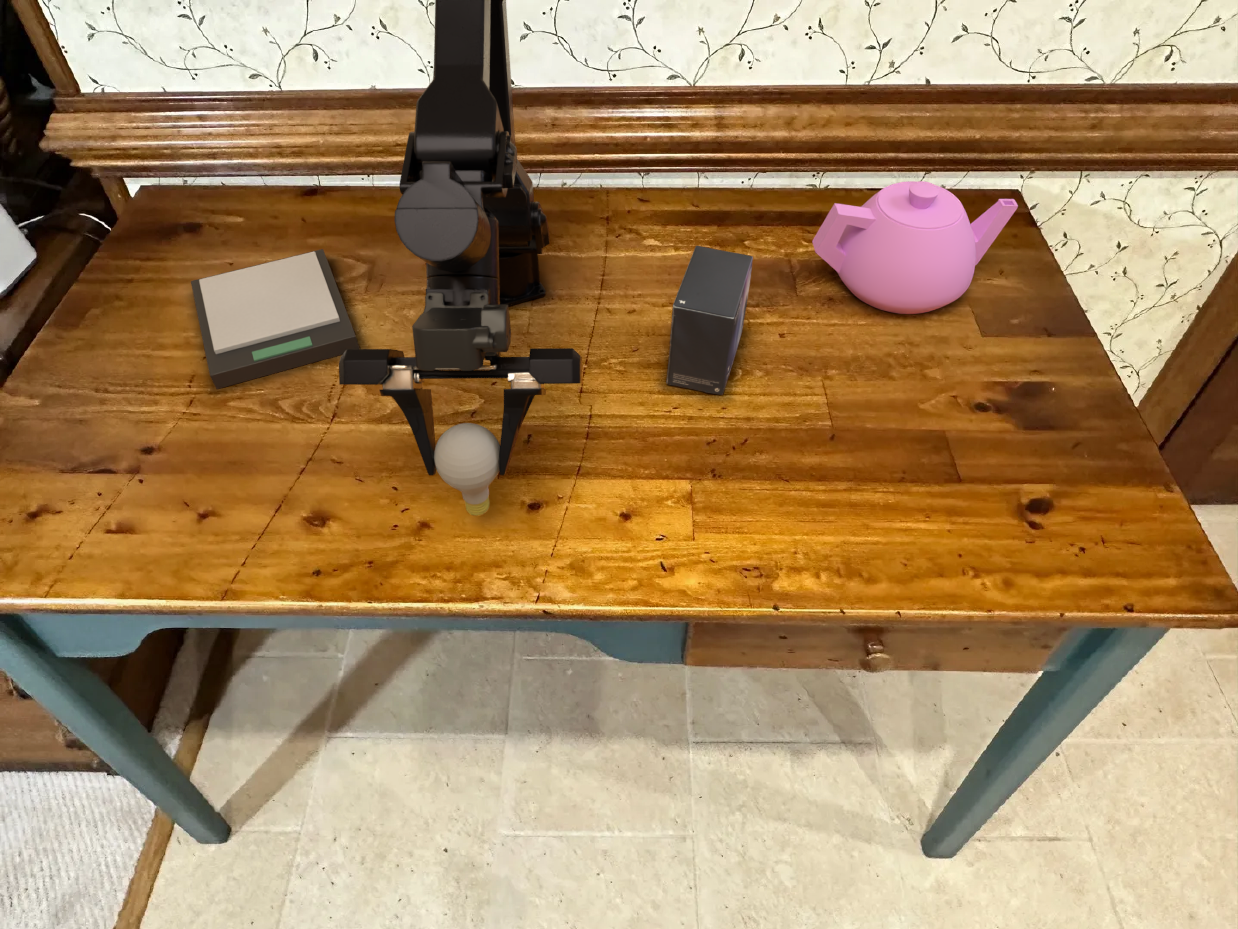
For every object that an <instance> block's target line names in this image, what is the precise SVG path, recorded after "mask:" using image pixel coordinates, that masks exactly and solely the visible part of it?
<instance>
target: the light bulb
mask: <svg viewBox="0 0 1238 929" xmlns="http://www.w3.org/2000/svg"><path fill="white" fill-rule="evenodd" d="M499 451H500V442H499V440H498V438H497V437H496V436H495V434H494V433H493V432H492V431H490V430H489V429H488V428H487V427H485V426H483V425H480V424H478V423H473V422H463V423H458V424H455V425H453V426H450V427H449V428H447V430H445V431H444V432H443V433H442V434H441V435H440V437H439V438H438V439H437V442H436V447H435V451H434V461H435V466H436V473H438V475H439V476H440V478H441V479H442V481H444V483H446V485H448V486H450V487H451V488H452V489H456V490H457V491H459V492H461V495H462V500H463V501H464V504H465V510H466V512H467V513H468V514H469V515H470V516H474V517H479V516H482V515H483V516H484V514H486V513H487V512H488V511H489V509H490V506H491V505H490V504H491V502H490V496H489V495H490V490H489V486H490V485H491V484H492V483H493V481H494V480H495V479H496V477H497V476H498V474H499V473H500V471H499Z"/></svg>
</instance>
